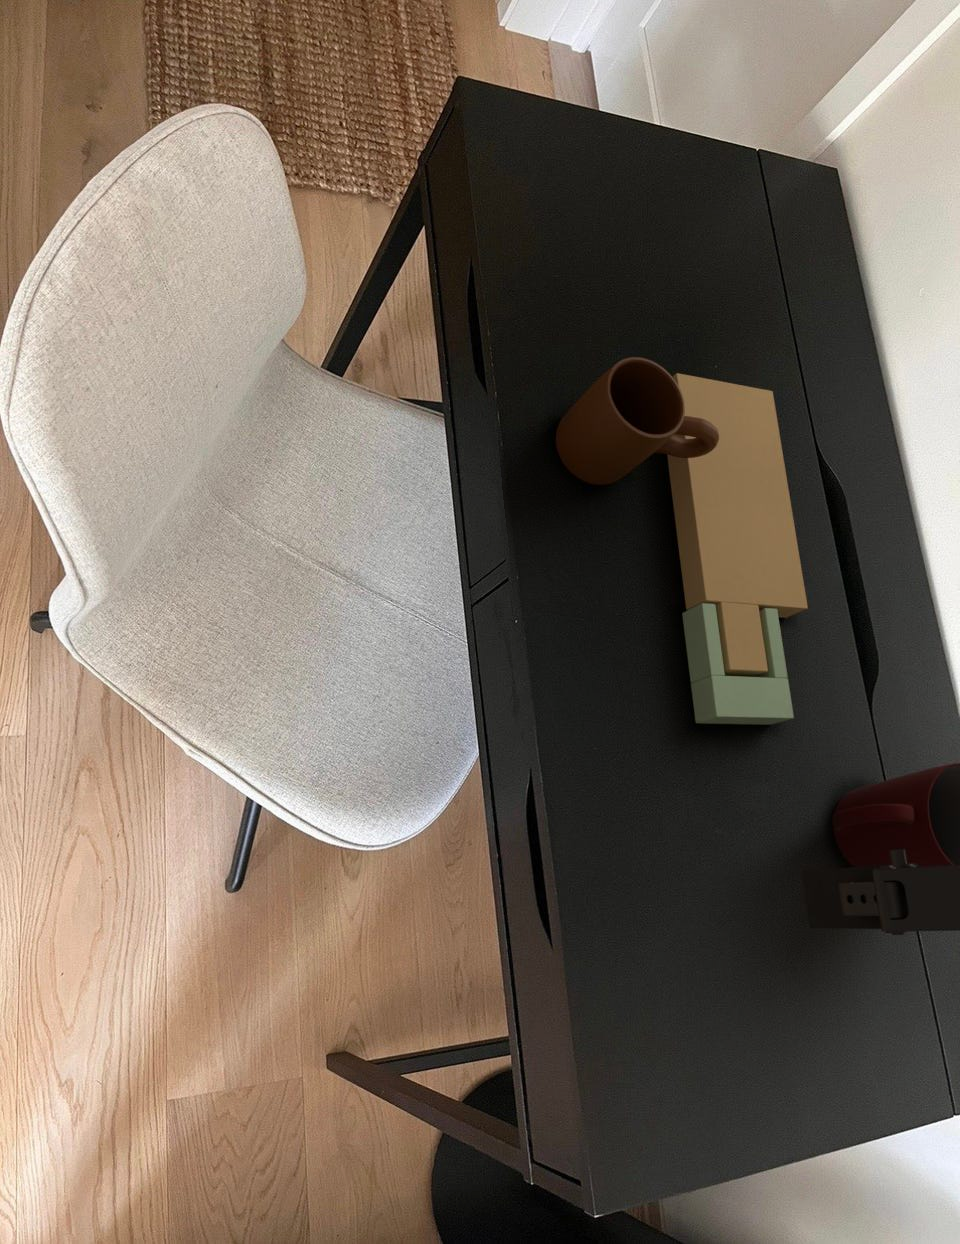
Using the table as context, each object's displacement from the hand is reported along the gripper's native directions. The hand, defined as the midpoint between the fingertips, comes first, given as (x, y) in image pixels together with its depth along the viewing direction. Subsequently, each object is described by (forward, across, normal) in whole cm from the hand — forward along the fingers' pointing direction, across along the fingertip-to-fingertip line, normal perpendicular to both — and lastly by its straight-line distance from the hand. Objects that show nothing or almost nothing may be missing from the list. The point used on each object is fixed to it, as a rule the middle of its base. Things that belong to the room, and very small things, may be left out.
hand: (913, 891), depth 48 cm
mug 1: (+27, -2, -38) cm, 47 cm away
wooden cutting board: (+27, -13, -32) cm, 44 cm away
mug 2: (+27, -22, -5) cm, 35 cm away
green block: (+27, -11, -19) cm, 34 cm away
